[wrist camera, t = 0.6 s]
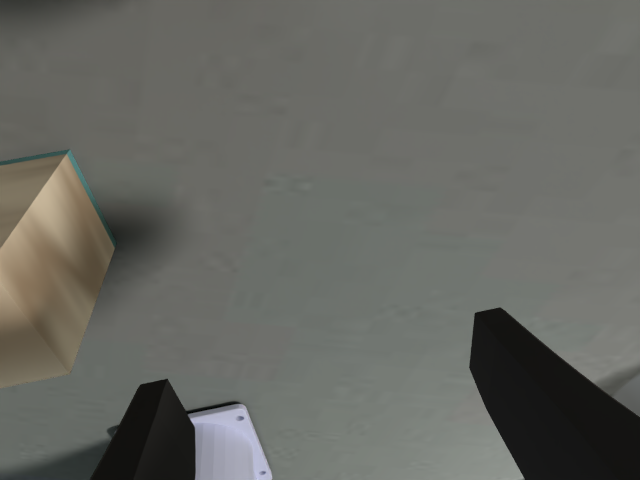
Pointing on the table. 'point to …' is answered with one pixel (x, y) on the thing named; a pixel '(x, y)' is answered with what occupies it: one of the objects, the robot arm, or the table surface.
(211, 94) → the table surface
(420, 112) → the table surface
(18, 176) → the beech block
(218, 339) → the table surface
